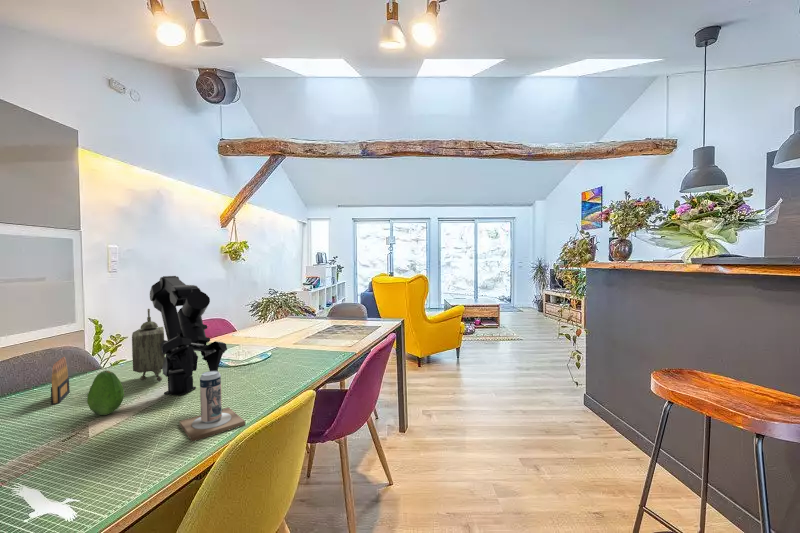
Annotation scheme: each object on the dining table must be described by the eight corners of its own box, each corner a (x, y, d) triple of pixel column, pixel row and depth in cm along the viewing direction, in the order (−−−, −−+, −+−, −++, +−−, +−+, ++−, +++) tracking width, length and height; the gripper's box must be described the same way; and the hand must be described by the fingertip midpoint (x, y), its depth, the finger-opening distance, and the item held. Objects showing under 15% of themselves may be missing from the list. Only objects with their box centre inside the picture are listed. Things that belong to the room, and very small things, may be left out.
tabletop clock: (165, 381, 127) (163, 309, 126) (133, 387, 122) (130, 312, 121) (164, 371, 139) (162, 305, 138) (134, 376, 134) (132, 308, 133)
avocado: (100, 421, 96) (98, 376, 96) (81, 417, 99) (79, 373, 98) (131, 409, 103) (130, 367, 103) (113, 406, 106) (111, 365, 106)
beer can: (212, 425, 90) (211, 376, 90) (196, 423, 91) (195, 375, 91) (226, 416, 95) (225, 370, 95) (210, 415, 96) (209, 369, 96)
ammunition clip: (59, 403, 109) (57, 363, 109) (51, 404, 108) (49, 364, 108) (69, 392, 118) (68, 355, 118) (62, 393, 117) (60, 356, 117)
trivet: (179, 424, 93) (179, 420, 93) (228, 410, 102) (228, 406, 102) (192, 441, 85) (192, 436, 85) (245, 424, 93) (244, 420, 93)
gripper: (192, 340, 116) (202, 387, 110) (140, 333, 98) (148, 389, 93) (222, 324, 115) (234, 372, 109) (175, 315, 97) (186, 370, 92)
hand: (202, 376), depth 101 cm, fingers open, 9 cm apart
